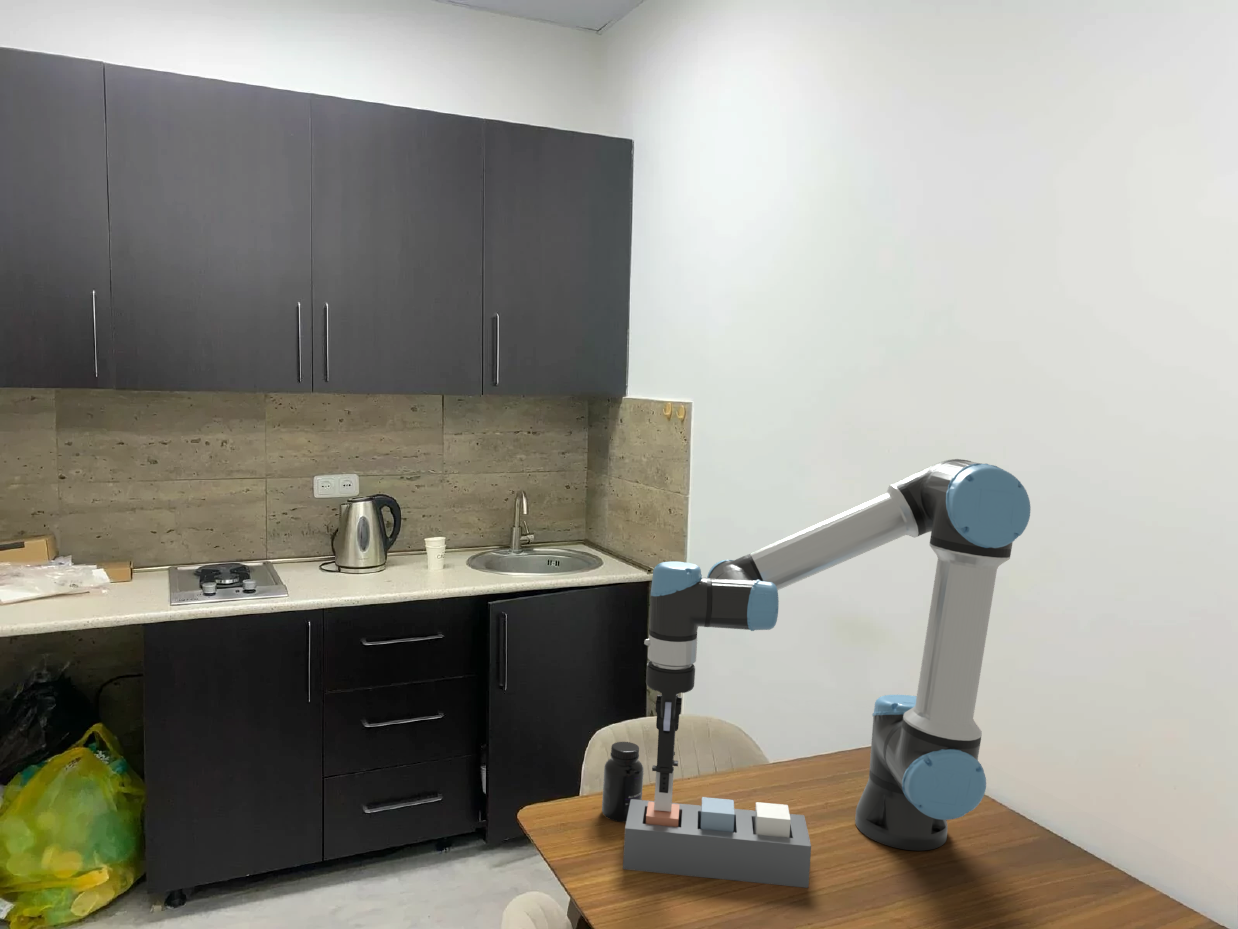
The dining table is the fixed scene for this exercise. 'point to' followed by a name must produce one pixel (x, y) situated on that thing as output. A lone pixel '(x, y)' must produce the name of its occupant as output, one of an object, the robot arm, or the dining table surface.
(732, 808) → the blue key
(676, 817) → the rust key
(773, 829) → the white key
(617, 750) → the supplement bottle
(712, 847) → the console
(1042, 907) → the dining table surface
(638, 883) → the dining table surface
